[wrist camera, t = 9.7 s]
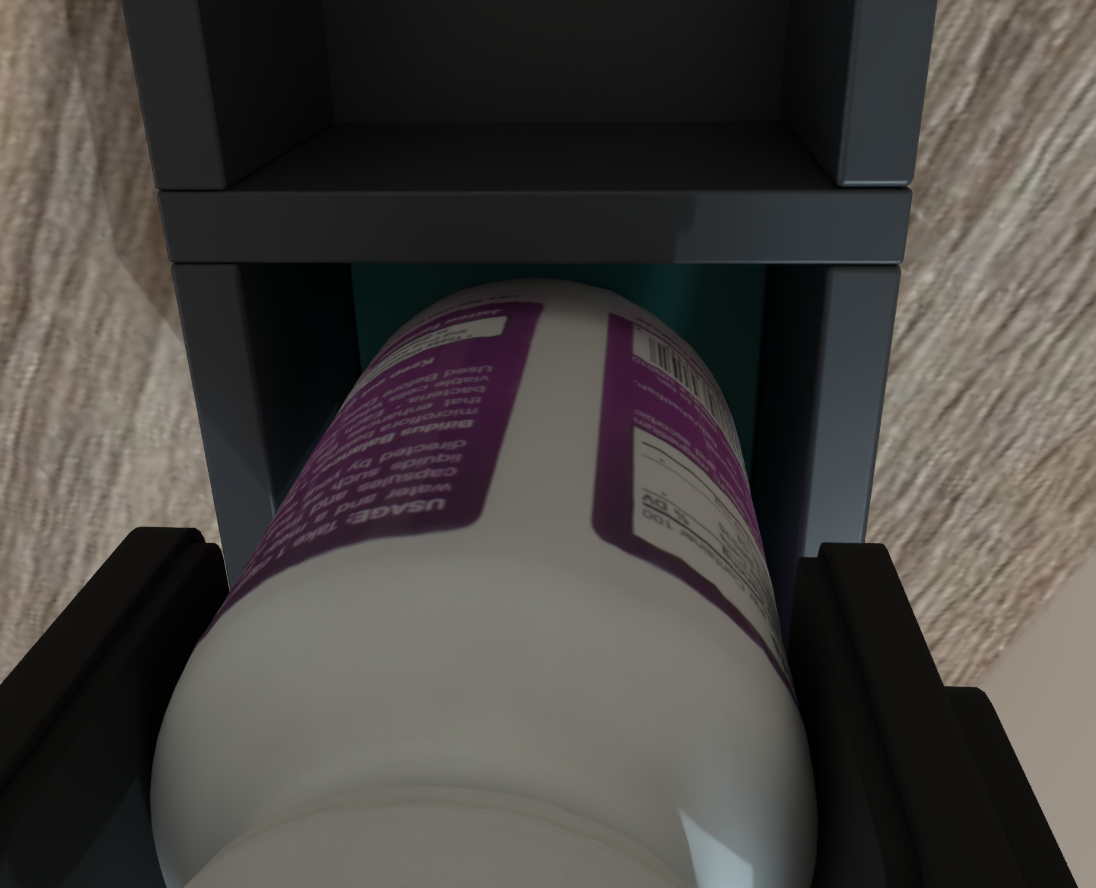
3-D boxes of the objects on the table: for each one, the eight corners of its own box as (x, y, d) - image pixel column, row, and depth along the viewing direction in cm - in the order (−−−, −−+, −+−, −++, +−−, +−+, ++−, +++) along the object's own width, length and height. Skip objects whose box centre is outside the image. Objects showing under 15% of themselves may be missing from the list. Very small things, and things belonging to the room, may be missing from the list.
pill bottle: (357, 595, 16) (13, 1405, 7) (349, 252, 13) (-189, 833, 5) (714, 629, 15) (815, 1509, 7) (770, 285, 13) (1030, 961, 4)
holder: (218, -497, 13) (-20, -748, 8) (891, -533, 12) (1052, -825, 7) (348, 564, 19) (259, 759, 15) (784, 575, 19) (834, 781, 14)
